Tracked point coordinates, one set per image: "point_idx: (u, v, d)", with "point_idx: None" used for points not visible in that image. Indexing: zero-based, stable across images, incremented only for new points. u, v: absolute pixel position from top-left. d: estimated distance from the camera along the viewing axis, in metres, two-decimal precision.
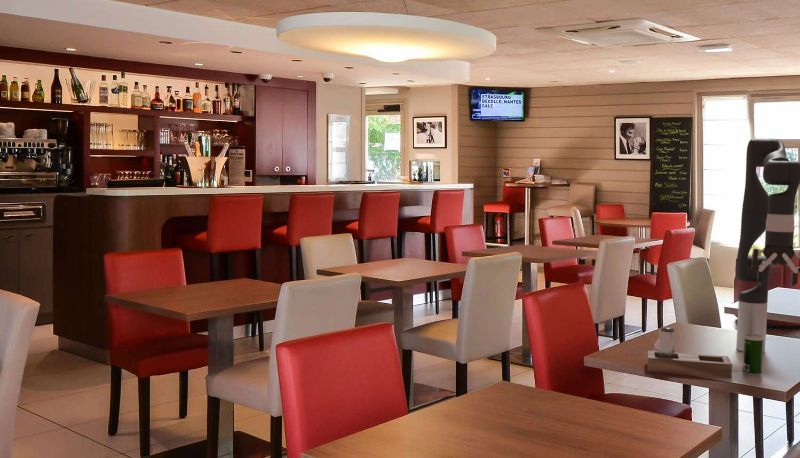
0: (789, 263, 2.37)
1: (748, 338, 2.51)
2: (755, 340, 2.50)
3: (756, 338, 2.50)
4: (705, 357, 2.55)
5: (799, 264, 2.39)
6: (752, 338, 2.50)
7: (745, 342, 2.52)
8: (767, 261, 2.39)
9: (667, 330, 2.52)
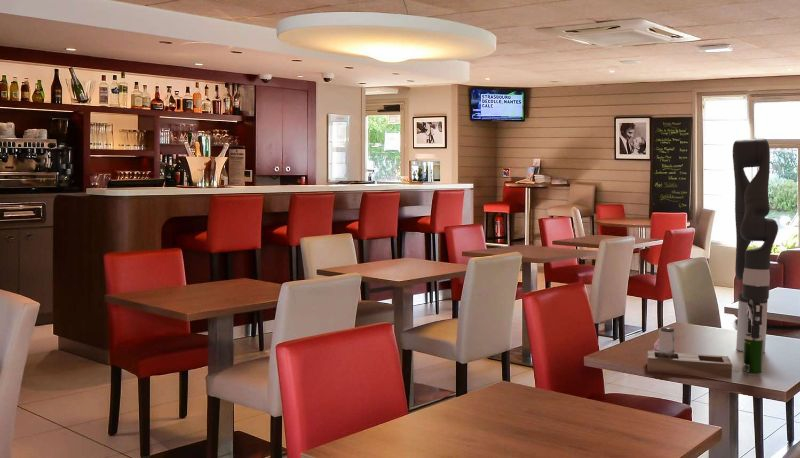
0: None
1: (748, 338, 2.51)
2: (755, 340, 2.50)
3: None
4: (705, 357, 2.55)
5: None
6: (752, 338, 2.50)
7: (745, 342, 2.52)
8: None
9: (667, 330, 2.52)
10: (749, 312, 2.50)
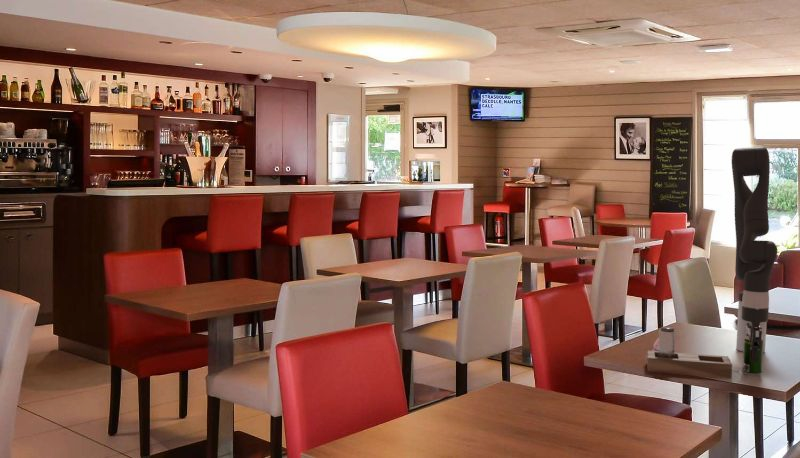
0: None
1: (748, 338, 2.51)
2: None
3: None
4: (705, 357, 2.55)
5: None
6: None
7: (745, 342, 2.52)
8: None
9: (667, 330, 2.52)
10: None
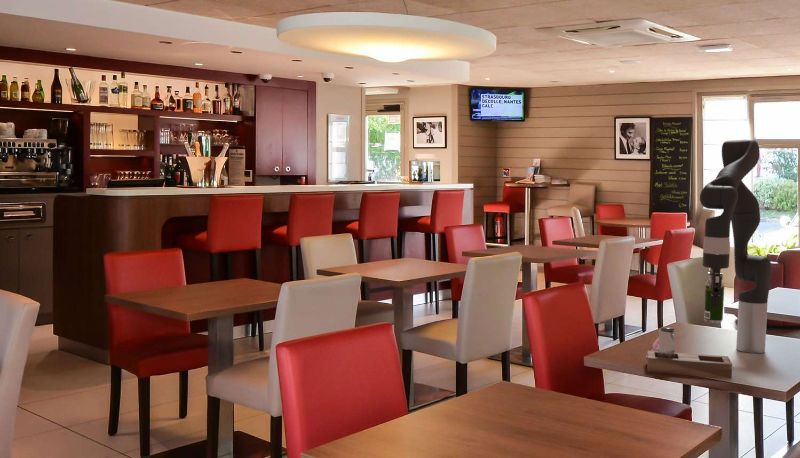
0: None
1: None
2: None
3: None
4: (705, 357, 2.55)
5: None
6: None
7: (706, 289, 2.49)
8: (721, 284, 2.47)
9: (667, 330, 2.52)
10: (709, 281, 2.48)
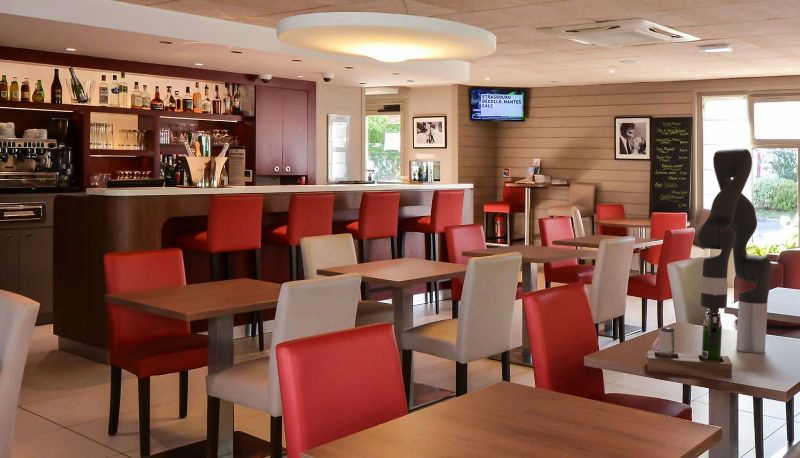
0: None
1: None
2: None
3: None
4: None
5: None
6: None
7: (704, 328, 2.50)
8: (719, 324, 2.48)
9: (667, 330, 2.52)
10: (707, 321, 2.49)
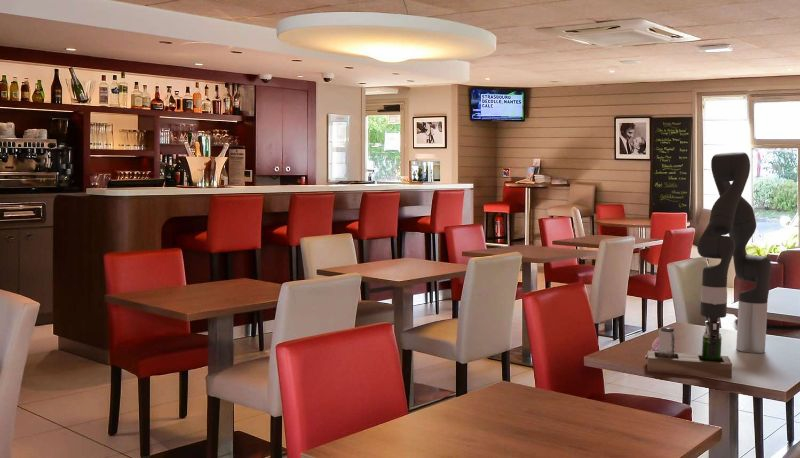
0: None
1: (706, 336, 2.50)
2: (713, 338, 2.48)
3: None
4: None
5: None
6: None
7: (703, 340, 2.51)
8: None
9: (667, 330, 2.52)
10: (707, 330, 2.49)
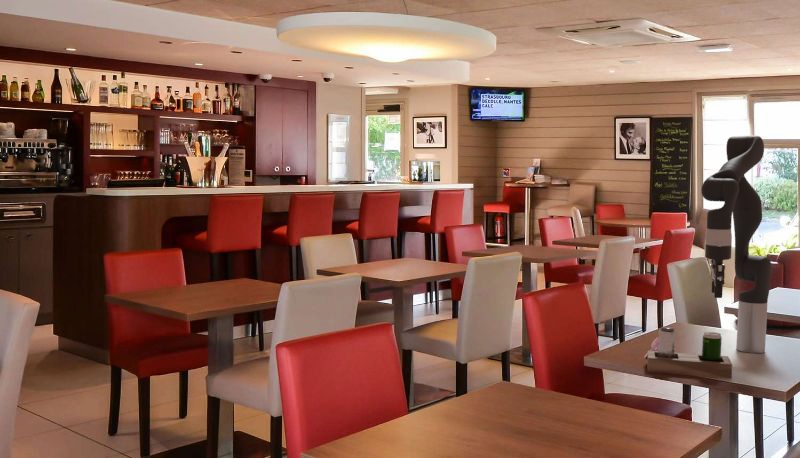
0: None
1: (706, 336, 2.50)
2: (713, 338, 2.48)
3: (714, 336, 2.48)
4: None
5: None
6: (710, 336, 2.49)
7: (703, 340, 2.51)
8: (724, 274, 2.50)
9: (667, 330, 2.52)
10: (712, 272, 2.52)
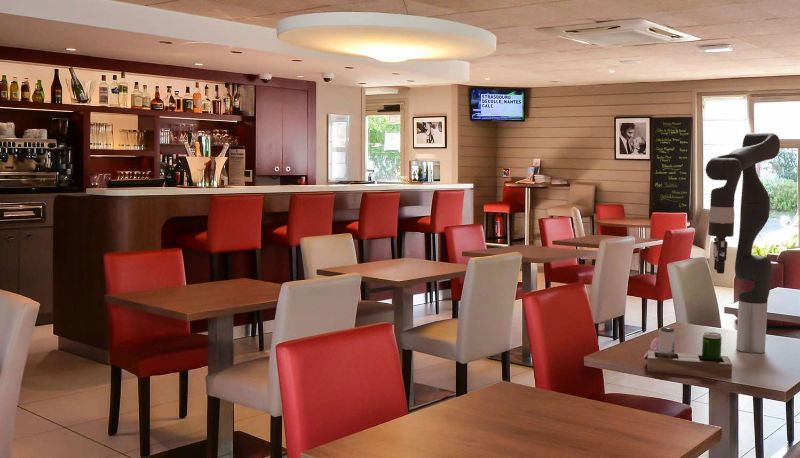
0: None
1: (706, 336, 2.50)
2: (713, 338, 2.48)
3: (714, 336, 2.48)
4: None
5: None
6: (710, 336, 2.49)
7: (703, 340, 2.51)
8: (726, 251, 2.58)
9: (667, 330, 2.52)
10: (715, 249, 2.60)
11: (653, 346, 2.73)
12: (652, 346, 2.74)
